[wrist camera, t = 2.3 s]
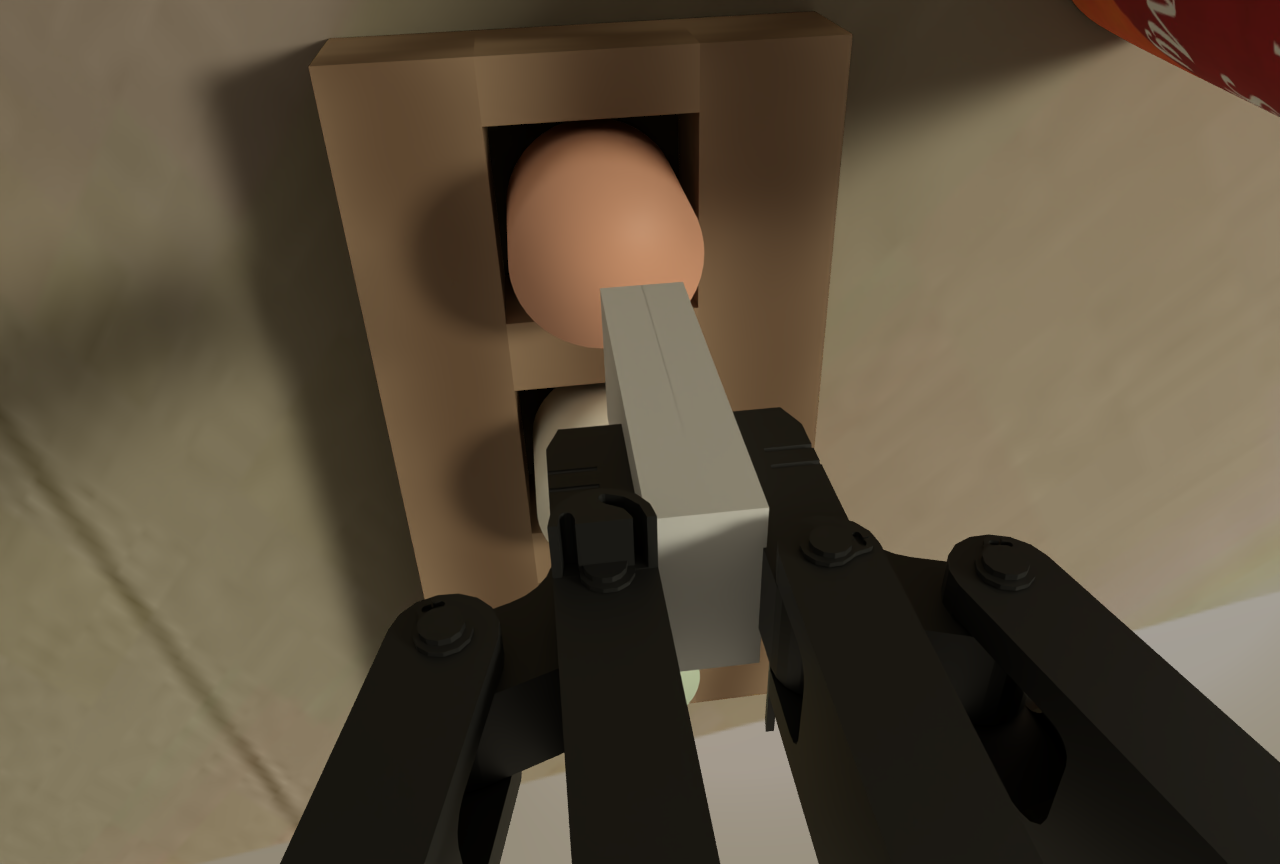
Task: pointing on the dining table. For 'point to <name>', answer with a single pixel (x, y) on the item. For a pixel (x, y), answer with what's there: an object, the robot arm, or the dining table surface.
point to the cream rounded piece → (563, 412)
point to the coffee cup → (1205, 40)
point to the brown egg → (595, 224)
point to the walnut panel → (484, 297)
